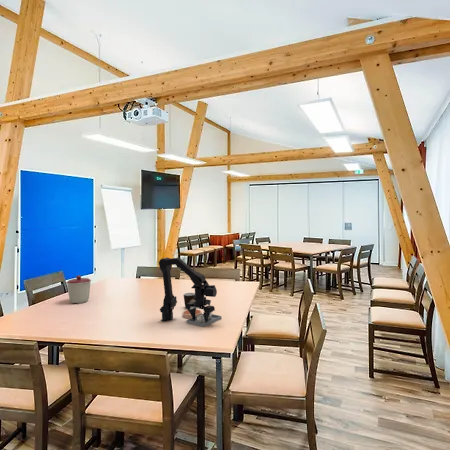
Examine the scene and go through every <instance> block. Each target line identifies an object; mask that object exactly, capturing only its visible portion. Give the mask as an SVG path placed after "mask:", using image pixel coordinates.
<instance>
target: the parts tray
mask: <svg viewBox="0 0 450 450" xmlns="http://www.w3.org/2000/svg"><path fill="white" fill-rule="evenodd" d="M201 315H203V318H204V313H202V314H201ZM221 320H222V315H218V314H213V313H212V319H211V320H207V322H206V323H205V319H204V323H203V324H202V323H198V322H197V316H196V317H195V320H193V318H191V319H186V324H187V325H192V326H197V327H201V328H205V327H206V326H209V325H212V324H214V323H216V322H218V321H221Z"/></svg>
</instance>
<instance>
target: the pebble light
mask: <svg viewBox="0 0 450 450" xmlns="http://www.w3.org/2000/svg"><path fill="white" fill-rule="evenodd" d="M197 322H198V323H202V324H203V323H204V318H203V315H197Z"/></svg>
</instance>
